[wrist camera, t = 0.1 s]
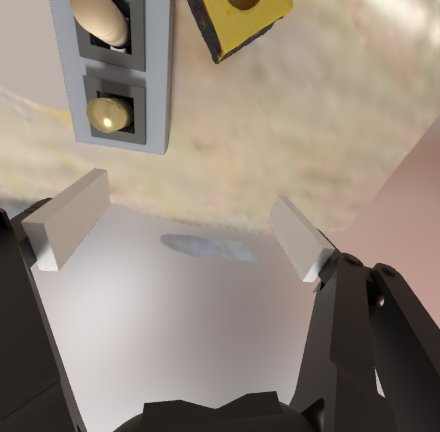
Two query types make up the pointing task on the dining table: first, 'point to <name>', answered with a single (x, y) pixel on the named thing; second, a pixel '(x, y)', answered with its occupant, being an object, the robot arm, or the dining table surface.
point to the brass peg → (109, 114)
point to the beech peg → (103, 21)
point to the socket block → (120, 73)
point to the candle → (235, 22)
